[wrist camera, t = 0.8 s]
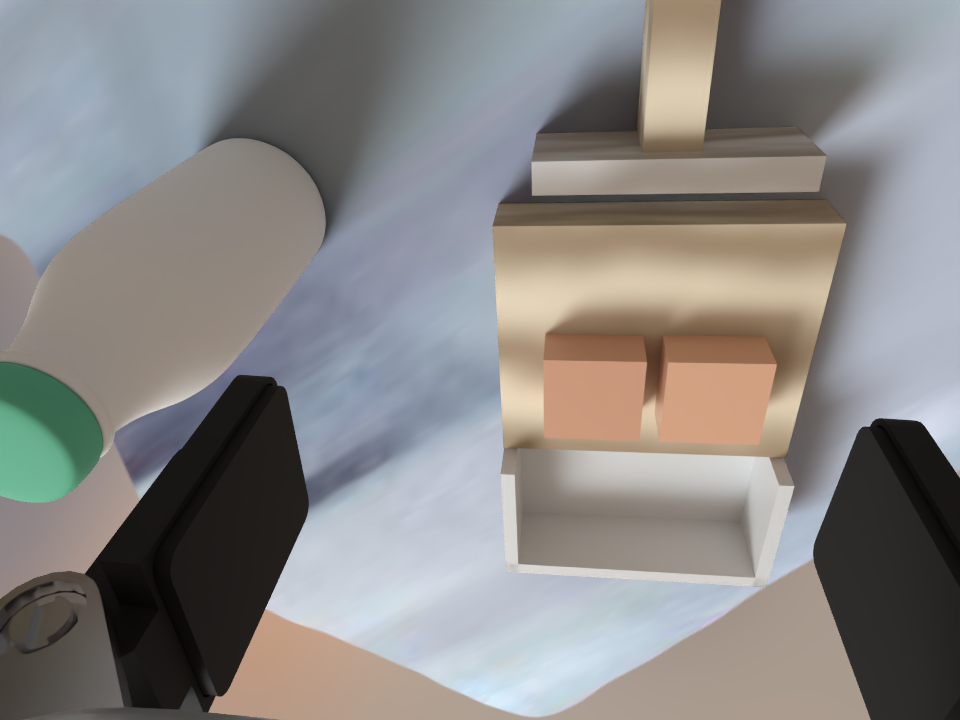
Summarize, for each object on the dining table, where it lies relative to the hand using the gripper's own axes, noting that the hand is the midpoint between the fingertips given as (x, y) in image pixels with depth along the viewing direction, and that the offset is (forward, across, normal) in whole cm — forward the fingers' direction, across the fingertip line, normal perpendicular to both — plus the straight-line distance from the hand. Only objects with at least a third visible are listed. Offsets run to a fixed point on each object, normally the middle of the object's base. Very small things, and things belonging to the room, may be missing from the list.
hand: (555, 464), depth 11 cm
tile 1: (+22, -8, +13) cm, 26 cm away
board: (+25, -5, +11) cm, 28 cm away
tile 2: (+22, -2, +13) cm, 25 cm away
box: (+25, -6, +23) cm, 34 cm away
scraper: (+25, -4, -5) cm, 25 cm away
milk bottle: (+25, +16, +5) cm, 30 cm away
